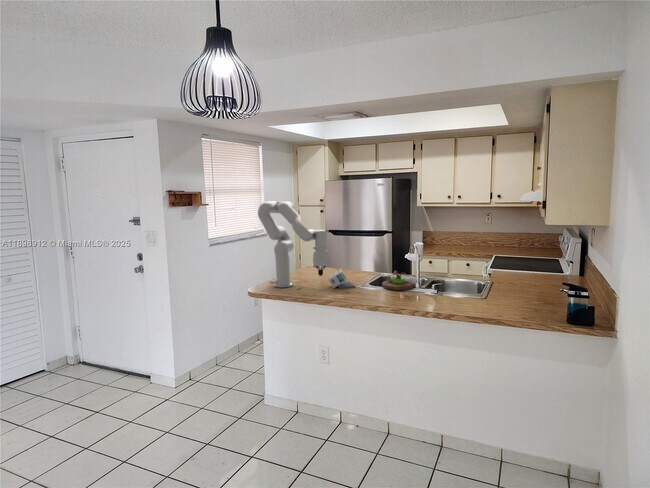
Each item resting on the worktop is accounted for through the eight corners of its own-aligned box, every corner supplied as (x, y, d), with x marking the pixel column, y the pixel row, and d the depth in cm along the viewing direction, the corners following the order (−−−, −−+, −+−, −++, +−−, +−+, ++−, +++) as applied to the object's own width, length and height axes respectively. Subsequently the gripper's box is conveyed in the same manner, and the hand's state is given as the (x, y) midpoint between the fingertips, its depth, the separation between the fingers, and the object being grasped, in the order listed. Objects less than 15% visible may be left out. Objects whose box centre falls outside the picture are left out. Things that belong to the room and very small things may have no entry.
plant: (376, 286, 272) (376, 270, 271) (397, 282, 283) (397, 266, 282) (397, 291, 256) (397, 274, 255) (419, 287, 267) (419, 270, 266)
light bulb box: (333, 288, 267) (347, 280, 266) (328, 280, 265) (342, 271, 265) (332, 284, 277) (345, 276, 277) (327, 276, 276) (340, 268, 275)
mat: (338, 288, 266) (338, 286, 265) (333, 283, 281) (333, 281, 281) (355, 287, 268) (355, 285, 268) (349, 282, 283) (349, 280, 283)
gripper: (310, 249, 265) (310, 277, 267) (332, 248, 268) (332, 276, 270) (308, 248, 272) (308, 274, 274) (330, 247, 275) (330, 274, 277)
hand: (320, 275), depth 272 cm, fingers closed
